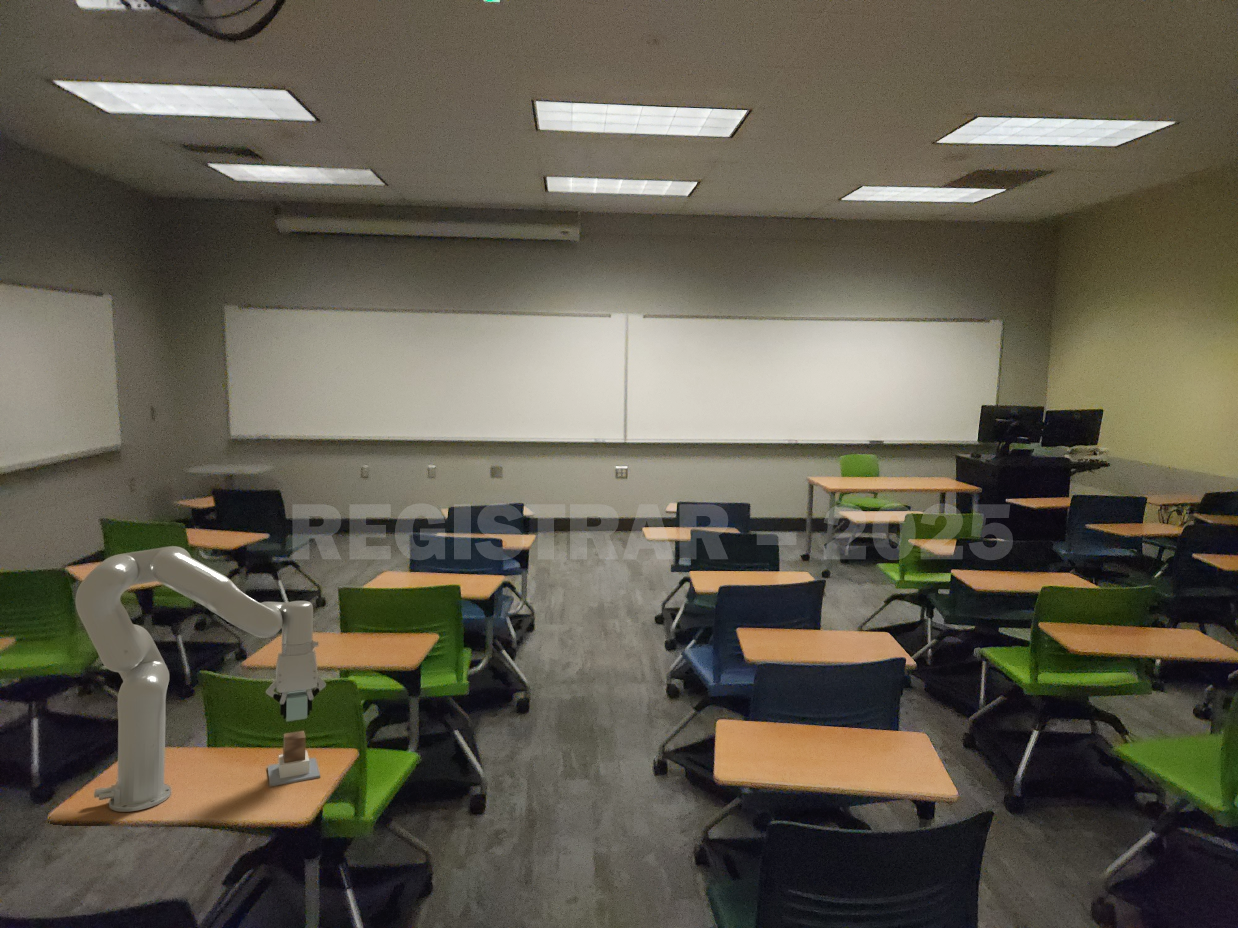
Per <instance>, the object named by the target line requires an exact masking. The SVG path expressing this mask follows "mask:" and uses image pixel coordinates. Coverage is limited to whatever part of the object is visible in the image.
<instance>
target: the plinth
mask: <svg viewBox="0 0 1238 928" xmlns="http://www.w3.org/2000/svg"><path fill="white" fill-rule="evenodd" d="M267 774H268V783H269V784H268V785H269V788H270V787H277V786H282V785H287V784H292V783H299V782H303V781H309V780H314V779H319V778H321V773H320V768H319V765H318V761H317V758H316V757H315V756H314V757H311V758H310V756H309V753H308V750H306V749H305V760H301V761H295V762H289V763H284V758H283V753H282V754H279V755H278V763H276V764H269V765H267Z"/></svg>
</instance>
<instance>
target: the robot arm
mask: <svg viewBox="0 0 1238 928" xmlns="http://www.w3.org/2000/svg"><path fill="white" fill-rule="evenodd" d="M154 582H158V583H159V584H161V585H163V586H165V587H167V588H168V589H171V590H172V591H174V592H177V593H178V594H181V595H182V596H184V597H186V598H188V599H190V600H192V601H194V602H196V603H197V604H199V605H202V606H203V607H205V609H208V610H209V611H210V612H211V613H213V614H216V615H217V616H219V617H220V618H221V619H223V620H224V621H226V622H228V623H229V624H230V625H233V626H234V627H237V628H238V629H240V630H243V631H244V632H247V633H248V634H250V635H252V636H254V637H257V638H262V639H267V638H270V637H271V638H272V637H273V636H275V635H277V634H278V633H279V631H280V630H281V652H280V653H278V654H277V659H276V665H275V666H276V667H275V676H274V677H275V679H274V680H273V682H272V683H271V684H270V685H269V687H267V688H266V690H265V694H266V695H268V696H269V697H271V698H273V699H274V700H275V701H277V703H279V708H280V709H279V714H280V715H279V716H282V718H283V720H286V697H287V693H289V692H297V691H304V690H306V693H307V696H308V701H307V717H308V716H310V712H311V711H313V700H314V699H315V697H316V696H317V695H318V694H319V693H320V692H321V691H322V690H324V689H325V688H326V686H327V683H326V682H325V680H324V679H323V678H322V677H320V675H318V663H317V662H318V661H317V654H316V651H315V648H318V647H319V641H314V640H313V639H314V638H313V637H314V635H313V633H314V632H313V628H314V627H313V626H314V607H313V604H312V602H310V601H307V600H293V601H289V602H288V601H287V602H284V601H282V602H281V601H263V602H258V601H257V600H256V599H253V598H252V597H250V596H249V595H247V594H246V593H244V592H243V591H242V590H241V589H239V587H238V586H236V584H235V583H234V582H233V581H232V580H231V579H230V578H229V577H228V576H226V575H225V574H223V573H221V572H219V571H217V570H215V569H213V568H211V567H209V566H207V565H205V564H204V563H202V562H200V561H198V560H196V559H195V558H193V557H192V556H191V554H190V553H189V552H188V551H187V549H185V548H183V547H181V546H177V545H175V546H174V545H171V546H169V545H168V546H162V547H158V548H157V547H156V548H151V549H145V550H138V551H132V552H125V553H120V554H119V553H118V554H115V555H111V556H109V557H107V558H106V559H104V560H103V561H102V562H100V563H99V564H98V565H97V566H95V568H93V569H92V570H91V571H90V572H89V573H88V574H87V575H86V576H85V578H83V580H82V581H81V583H80V585H79V586H78V588H77V590H76V595H75V602H74V603H75V608H76V611H77V614H78V617H79V619H80V621H81V623H82V625H83V626H84V628H85V630H86V633H87V635H88V637H89V639H90V640H91V642H92V645H93V646H94V648H95V650H96V652H97V654H98V657H99V659H100V661H101V663H102V664H103V666H104V667H105V668H106V669H108V670H109V671H111V672H113V673H118V674H119V675H120V677H121V679H122V683H121V685H120V688H119V691H118V694H117V703H116V704H117V720H118V723H117V724H118V728H117V731H118V732H117V733H118V734H117V741H118V745H117V749H118V750H117V781H116V783H115V784H113V785H110V786H108V787H101V788H95V789H94V797H93V798H96V799H97V798H98V800H99V801H103V800H108V799H109V800H108V807H109V809H110V810H112V811H114V812H119V813H126V812H127V813H129V812H136V811H142V810H146V809H148V808H152V807H155V806H158V805H159V804H161V803H163V802H164V801H166V800H167V799H168V798H170V796H171V795H172V787H171V785H168V784H166V783H165V763H166V762H165V761H166V760H165V759H166V702H167V701H166V699H167V691H168V688H169V687H168V685H169V682H170V670H169V669H168V665H167V664H166V663H165V659H164V658H163V657H162V655H161V652H160V651H159V649H158V646H157V645H156V642H155V641H154V639H153V637H152V636H151V634H150V633H149V631H148V630H147V629H146V628H145V627H143V626H140V625H138V624H134V623H133V622H132V620H131V618H130V615H129V613H128V612H127V609H126V608H125V607H124V605H123V603H122V602H121V597H122V595H123V594H124V593H125V592H126V591H128V590H129V588H131V587H132V586H136V585H137V586H139V585H142V584H148V583H149V584H150V583H154ZM275 690H276V691H275Z"/></svg>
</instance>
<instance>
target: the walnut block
mask: <svg viewBox="0 0 1238 928" xmlns="http://www.w3.org/2000/svg"><path fill="white" fill-rule="evenodd" d="M306 738H307V736H306V733H305V731H304V730H300V731H299V730H298V731H292V732H287V733H283V743H282V744H283V745H282V746H283V747H282V754H283V758H284V763H289V762H295V761H301V760H305V751H306V742H307V741H306V740H307V739H306Z"/></svg>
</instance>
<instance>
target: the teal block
mask: <svg viewBox="0 0 1238 928" xmlns="http://www.w3.org/2000/svg"><path fill="white" fill-rule="evenodd" d="M307 701H308V695H307V692H306V690H304V691H297V692H289V693H287V697H286V719H285V721H286V722H293V721H299V720H305V719H308V716H307Z"/></svg>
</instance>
